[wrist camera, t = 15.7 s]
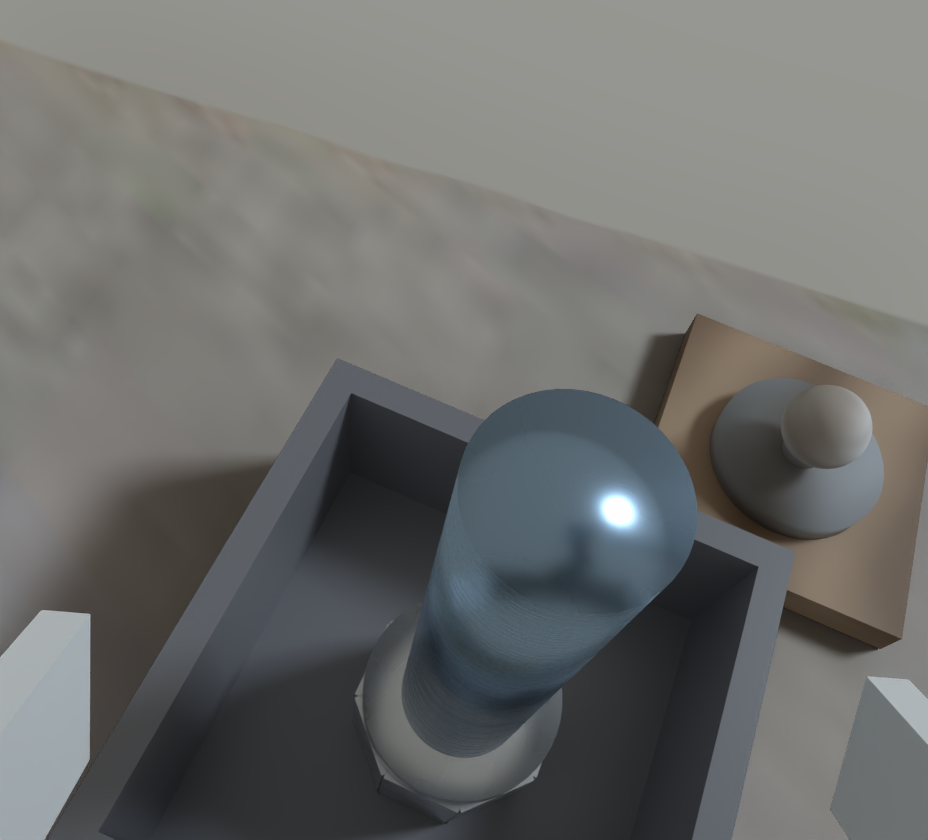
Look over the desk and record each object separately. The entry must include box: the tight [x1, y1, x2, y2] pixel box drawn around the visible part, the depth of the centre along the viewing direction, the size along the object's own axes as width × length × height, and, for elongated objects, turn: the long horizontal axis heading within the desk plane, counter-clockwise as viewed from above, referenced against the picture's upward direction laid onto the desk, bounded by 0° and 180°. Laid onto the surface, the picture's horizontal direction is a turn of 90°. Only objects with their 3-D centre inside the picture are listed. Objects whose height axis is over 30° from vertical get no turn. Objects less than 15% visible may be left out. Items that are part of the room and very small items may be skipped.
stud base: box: [654, 314, 928, 649], centre depth 34 cm, size 11×11×6 cm
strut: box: [353, 389, 698, 823], centre depth 21 cm, size 6×6×19 cm
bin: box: [47, 358, 795, 840], centre depth 27 cm, size 16×16×7 cm
